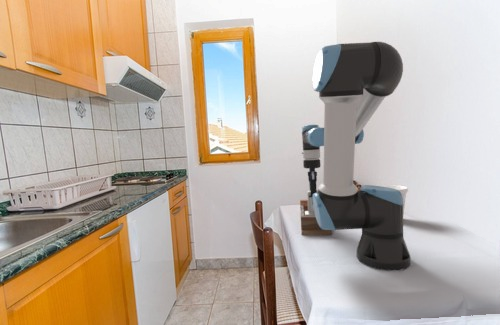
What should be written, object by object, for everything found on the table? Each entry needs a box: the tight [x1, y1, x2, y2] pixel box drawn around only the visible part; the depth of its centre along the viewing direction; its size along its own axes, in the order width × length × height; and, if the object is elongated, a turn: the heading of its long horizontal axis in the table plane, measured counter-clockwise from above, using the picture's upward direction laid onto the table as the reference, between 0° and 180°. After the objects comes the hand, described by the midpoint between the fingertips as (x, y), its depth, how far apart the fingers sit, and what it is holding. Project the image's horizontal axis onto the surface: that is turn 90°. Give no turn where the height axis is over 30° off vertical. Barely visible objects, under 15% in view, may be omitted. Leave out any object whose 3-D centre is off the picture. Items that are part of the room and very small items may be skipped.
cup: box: [380, 184, 409, 216], centre depth 118 cm, size 12×12×15 cm
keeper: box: [305, 189, 318, 216], centre depth 117 cm, size 6×8×14 cm
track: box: [299, 199, 332, 236], centre depth 122 cm, size 36×12×7 cm, turn 169°
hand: (313, 209), depth 117 cm, fingers closed on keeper, 4 cm apart
